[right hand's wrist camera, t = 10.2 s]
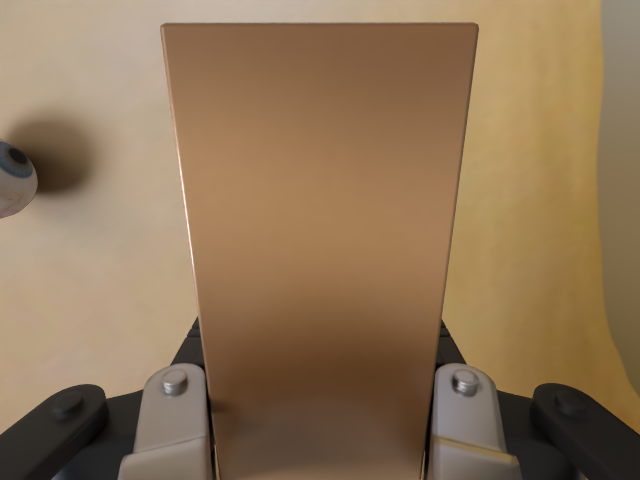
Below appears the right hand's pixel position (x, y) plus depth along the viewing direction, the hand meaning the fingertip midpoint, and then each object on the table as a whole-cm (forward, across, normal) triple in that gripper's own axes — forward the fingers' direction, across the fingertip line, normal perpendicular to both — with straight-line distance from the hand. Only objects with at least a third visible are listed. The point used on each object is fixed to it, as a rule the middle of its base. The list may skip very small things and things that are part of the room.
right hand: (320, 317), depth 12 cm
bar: (+3, 0, -31) cm, 32 cm away
